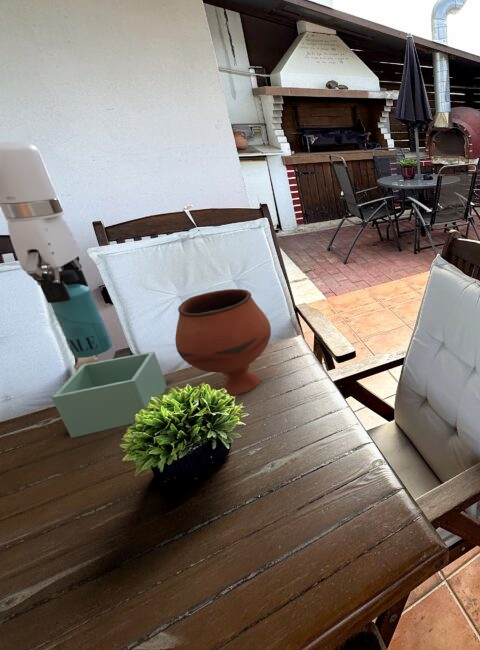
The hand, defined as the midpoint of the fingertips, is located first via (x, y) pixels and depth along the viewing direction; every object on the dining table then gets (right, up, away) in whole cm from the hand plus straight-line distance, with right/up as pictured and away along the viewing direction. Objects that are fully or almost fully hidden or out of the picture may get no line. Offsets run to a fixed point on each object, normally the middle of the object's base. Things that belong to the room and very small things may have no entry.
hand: (69, 294), depth 83 cm
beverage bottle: (0, -14, +5) cm, 15 cm away
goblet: (+21, -26, +22) cm, 40 cm away
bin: (-1, -29, +13) cm, 32 cm away
